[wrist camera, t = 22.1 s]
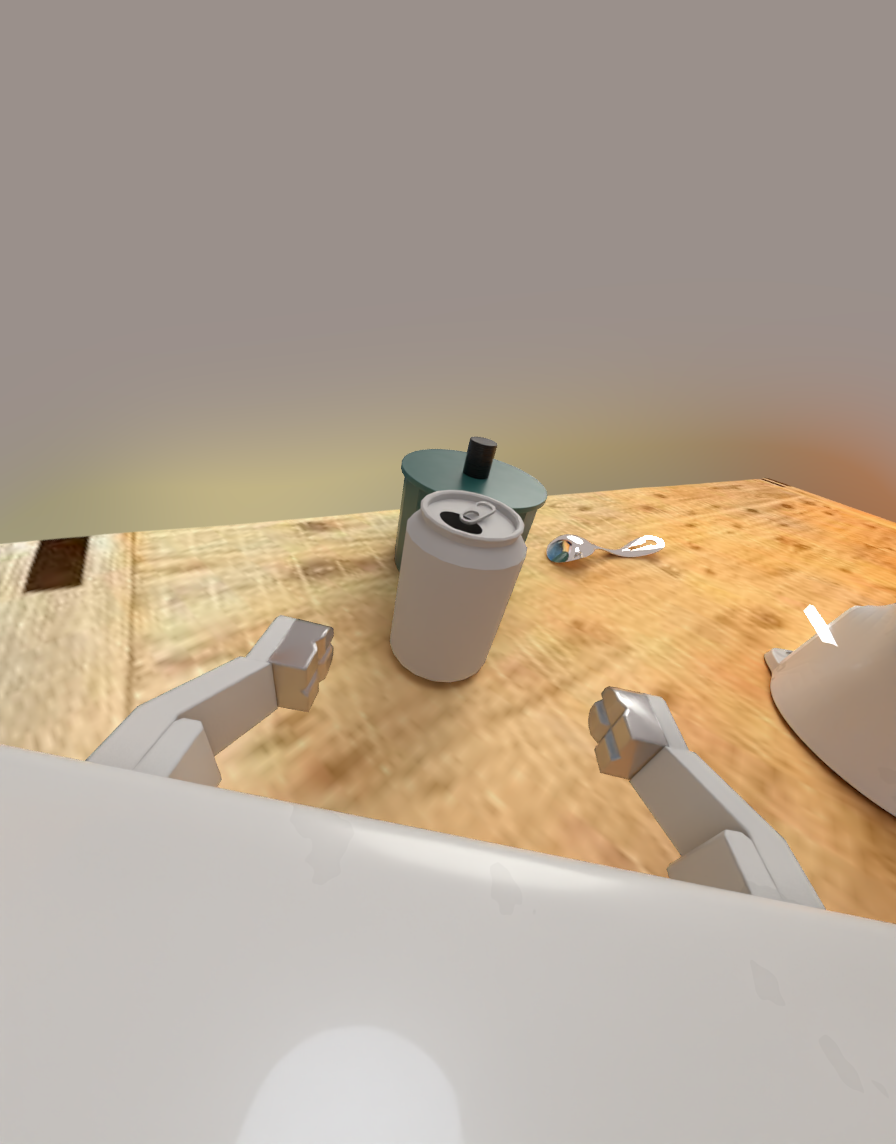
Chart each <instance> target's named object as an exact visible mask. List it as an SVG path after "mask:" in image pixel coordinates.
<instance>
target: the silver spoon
mask: <svg viewBox="0 0 896 1144" xmlns="http://www.w3.org/2000/svg"><path fill="white" fill-rule="evenodd" d="M647 540H650V541H654V542H655V543H656V544H657V545H649V546H645V547H642V548H638V549H635V550H631V551H630V550H629V549H628V548H632V547H635V546H639V545H642V544H645V543H646V542H645V541H647ZM664 546H665V543H664V541H663V540H662V539H661V538H658V537H654V536H644V537H640V538H638V539H635V540H633V541H631V542H629V543H628V544H626V545H624V546H622V547H620V548H617V549H607V548H604V547H601V546H598V545H596V544H594V543H592V542H590V541H588V540H586V539H585V538H582V537H580V536H576V535H571V534H565V535H561V536H558V537H556V538H555V539H553V540H552V541H551V542H550V543H549V545H548V547H547V556H548V558H549V559H550V560H551V561H553V562H555V563H564V562H569V561H572V560H576V559H580V558H584V557H587V556H589V555H591V554H592V553H593V552H594V551H595V550H596V549H598V550H602V551H605V552H608V553H610V554H613V555H617V556H621V557H638V556H644V555H649V554H653V553H656V552H658V551H660V550H662V549H663V548H664Z"/></svg>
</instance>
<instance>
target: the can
mask: <svg viewBox="0 0 896 1144" xmlns="http://www.w3.org/2000/svg"><path fill="white" fill-rule="evenodd" d="M524 526H525V525H524V523H523V521H522V519H521V517H520V516H519V515H518V514H517V513H516V512H515V511H514V510H513V509H512V508H510V507H509V506H507V505H505V504H504V503H502V502H500V501H497V500H495V499H493V498H491V497H488V496H484V495H481V494H478V493H473V492H468V491H462V490H443V491H436V492H433V493H431V494H428V495H426V496H425V497H424V498H423V499H422V500H421V509H419V510H418V511H416V512H415V513H414V514H413V515H412V516H411V517H410V518H409V519H408V521H407V527H406V534H405V541H404V547H403V554H402V561H401V568H400V574H399V581H398V588H397V594H396V601H395V608H394V615H393V621H392V628H391V635H390V644H391V647H392V651H393V654H394V655H395V656H396V658H397V659H398V660H399V662H400V663H401V664H402V665H403V666H404V667H405V668H407V669H408V670H410V671H411V672H412V673H414V674H415V675H417V676H420V677H423V678H426V679H428V680H431V681H440V682H454V681H459V680H464V679H466V678H468V677H470V676H472V675H473V674H475V673H477V672H478V671H479V669H480V668H481V667H482V666H483V664H484V663H485V660H486V658H487V655H488V653H489V650H490V647H491V645H492V642H493V640H494V637H495V635H496V632H497V629H498V627H499V624H500V622H501V619H502V616H503V614H504V611H505V609H506V606H507V604H508V601H509V598H510V596H511V593H512V591H513V588H514V585H515V583H516V580H517V578H518V575H519V572H520V570H521V567H522V565H523V562H524V560H525V557H526V551H527V547H526V545H525V542H524V540H523V538H522V536H521V534H523V530H524Z"/></svg>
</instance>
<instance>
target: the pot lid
mask: <svg viewBox="0 0 896 1144" xmlns="http://www.w3.org/2000/svg"><path fill="white" fill-rule="evenodd" d="M496 448H497V443H495V442H494V441H492V440H489V439H486V438H481V437H471V438H470V442H469V446H468V451H467V452H462V451H455V450H443V449H429V450H420V451H415V452H412V453H409V454H408V455H406V456H405V457H404V458H403V460H402V466H401V469H402V473H403V474H404V476H405V477H406V478H407V480H408V481H410V482H411V483H412V484H413V485H415V486H416V487H418V488H419V489H421V490H422V491H424V492H426V493H428V494H431V493H433V492H436V491H443V490H462V491H468V492H473V493H478V494H481V495H484V496H488V497H491V498H493V499H495V500H497V501H500V502H502V503H504V504H505V505H507V506H509V507H510V508H512V509H513V510H514V511H515V512H516V513H527V512H531V511H535V510H537V509H539V508H540V507H542V506H543V505H544V503H545V501H546V499H547V491H546V489H545V488H544V486H543V485H542V484H541V483H540V482H539V481H538V480H537V479H535V478H534V477H532V476H531V475H529V474H527V473H526V472H524V471H522V470H520V469H518V468H516V467H514V466H512V465H509V464H506V463H504V462H501V461H498V460H495V459H494V455H495V451H496Z"/></svg>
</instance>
